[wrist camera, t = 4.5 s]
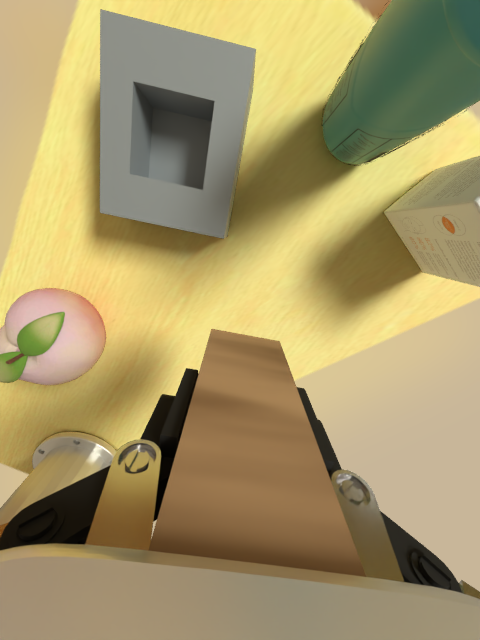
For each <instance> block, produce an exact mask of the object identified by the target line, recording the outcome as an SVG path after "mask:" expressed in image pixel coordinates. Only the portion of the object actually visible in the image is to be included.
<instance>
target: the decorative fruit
mask: <svg viewBox="0 0 480 640" xmlns="http://www.w3.org/2000/svg"><path fill="white" fill-rule="evenodd" d="M105 342H106V332H105V327H104V323H103V320H102V318H101V316H100V314H99V312H98V311H97V310H96V308H95V307H94V306H93V305H92V304H91V303H90V302H89V301H88V300H86V299H85V298H83V297H82V296H80V295H78V294H76V293H73V292H71V291H67V290H63V289H56V288H45V289H37V290H34V291H31V292H28V293H26V294H24V295H22V296H21V297H19V298H18V299H17V300H16V301H15V302H14V303H13V304H12V306H11V307H10V309H9V311H8V312H7V314H6V318H5V325H4V326H3V327H2V328H1V329H0V382H3V383H10V382H14V381H16V380H17V379H21V380H24V381H28V382H32V383H37V384H43V385H57V384H62V383H66V382H69V381H72V380H74V379H76V378H78V377H80V376H81V375H83V374H84V373H86V372H87V371H88V370H89V369H91V368H92V367H93V366H94V364H95V363H96V362H97V361H98V359H99V358H100V356H101V354H102V352H103V350H104V347H105Z"/></svg>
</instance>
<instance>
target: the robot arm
mask: <svg viewBox="0 0 480 640" xmlns="http://www.w3.org/2000/svg"><path fill="white" fill-rule="evenodd" d="M198 375H199V374H198V370H194V369H188V368H186V370H185V373H184V375H183V378H182V381H181V383H180V386H179V388H178V391H177V393H176V396H171V395H164V394H162V395H161V397H160V399H159V401H158V403H157V405H156V407H155V410H154V412H153V414H152V416H151V418H150V420H149V422H148V424H147V426H146V428H145V431H144V433H143V435H142V437H141V439H140V440H134V441H131V442H128V443H126V444H125V445H123V446H121V447H120V448H119V449H118V450H117V451H116V450H115V449H114V448H113V447H112V446H111V445H109V444H108V443H107V442H105V441H104V440H102V439H100V438H98V437H95V436H92V435H89V434H86V433H81V432H61V433H58V434H54V435H52V436H50V437H48V438H46V439H45V440H44V441H43V442H42V443H41V444H40V445H39V446H38V447H37V448H36V450H35V452H34V454H33V459H32V464H33V469H34V470H33V471H32V472H31V473H30V475H29V476H28V477H27V478H26V479H25V481H24V482H23V483H22V484H21V485H20V487H18V489H17V490H16V491H15V492H14V493H13V494H12V495H11V497H10V498H9V499H8V500H7V501H6V503H5V504H4V505H3V506H2V507H1V508H0V640H480V592H479V591H478V590H476V589H475V588H473V587H472V586H470V585H469V584H467V583H466V582H464V581H463V580H461V581H460V583H458V582H457V580H456V578H455V577H454V575H453V574H452V572H451V571H450V570H449V569H448V567H447V566H446V565H445V564H444V563H443V562H442V561H441V560H440V559H439V558H438V557H437V556H436V555H434V554H433V553H432V552H431V551H429V550H428V549H427V548H426V547H424V546H423V545H422V544H421V543H419V542H418V541H417V540H416V539H414V538H413V537H412V536H411V535H409V534H408V533H407V532H406V531H405V530H403V529H402V528H401V527H400V526H398V525H397V524H396V523H395V522H393V521H392V520H391V519H390V518H388V517H387V516H386V515H385V514H383V513H382V512H381V511H380V510H379V507H378V504H377V501H376V498H375V495H374V493H373V491H372V489H371V488H370V486H369V485H368V484H367V483H366V482H365V481H364V480H363V479H362V478H361V477H360V476H358V475H356V474H355V473H353V472H350V471H348V470H342V469H341V467H340V464H339V462H338V460H337V457H336V455H335V453H334V450H333V448H332V446H331V443H330V441H329V439H328V436H327V434H326V432H325V429H324V427H323V425H322V423H321V421H320V420H317V418H316V415H315V413H314V410H313V408H312V405H311V403H310V401H309V398H308V396H307V393H306V391H305V389H304V388H298V387H297V390H298V393H299V396H300V398H301V401H302V404H303V406H304V409H305V412H306V415H307V417H308V420H309V423H310V425H311V428H312V431H313V434H314V436H315V439H316V442H317V444H318V447H319V450H320V453H321V455H322V458H323V461H324V463H325V466H326V469H327V472H328V474H329V477H330V480H331V483H332V485H333V488H334V491H335V493H336V496H337V499H338V502H339V504H340V507H341V510H342V512H343V515H344V518H345V521H346V523H347V526H348V529H349V531H350V534H351V537H352V540H353V542H354V545H355V548H356V550H357V553H358V556H359V559H360V561H361V564H362V567H363V569H364V572H365V575H366V577H362V576H355V575H347V574H339V573H331V572H323V571H315V570H307V569H299V568H291V567H283V566H275V565H266V564H258V563H250V562H241V561H233V560H225V559H216V558H208V557H199V556H190V555H182V554H173V553H164V552H155V551H148V550H149V546H150V543H151V535H152V528H153V522H154V521H155V520H157V518H158V515H159V511H160V508H161V504H162V501H163V497H164V494H165V490H166V487H167V483H168V480H169V476H170V473H171V469H172V466H173V462H174V459H175V455H176V452H177V448H178V445H179V441H180V438H181V434H182V431H183V427H184V424H185V420H186V417H187V413H188V410H189V406H190V403H191V399H192V396H193V392H194V389H195V385H196V382H197V378H198Z"/></svg>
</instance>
